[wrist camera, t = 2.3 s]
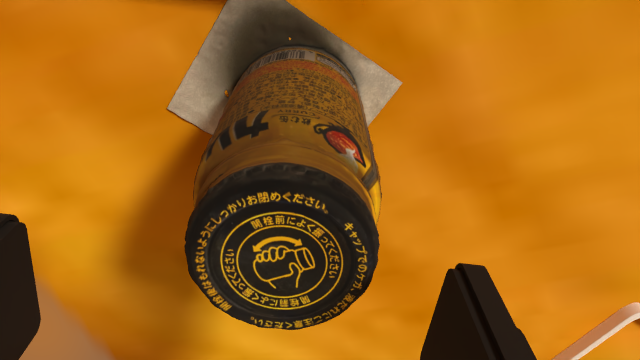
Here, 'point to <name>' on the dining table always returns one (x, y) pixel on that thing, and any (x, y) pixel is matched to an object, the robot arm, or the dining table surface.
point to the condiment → (282, 166)
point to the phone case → (601, 332)
